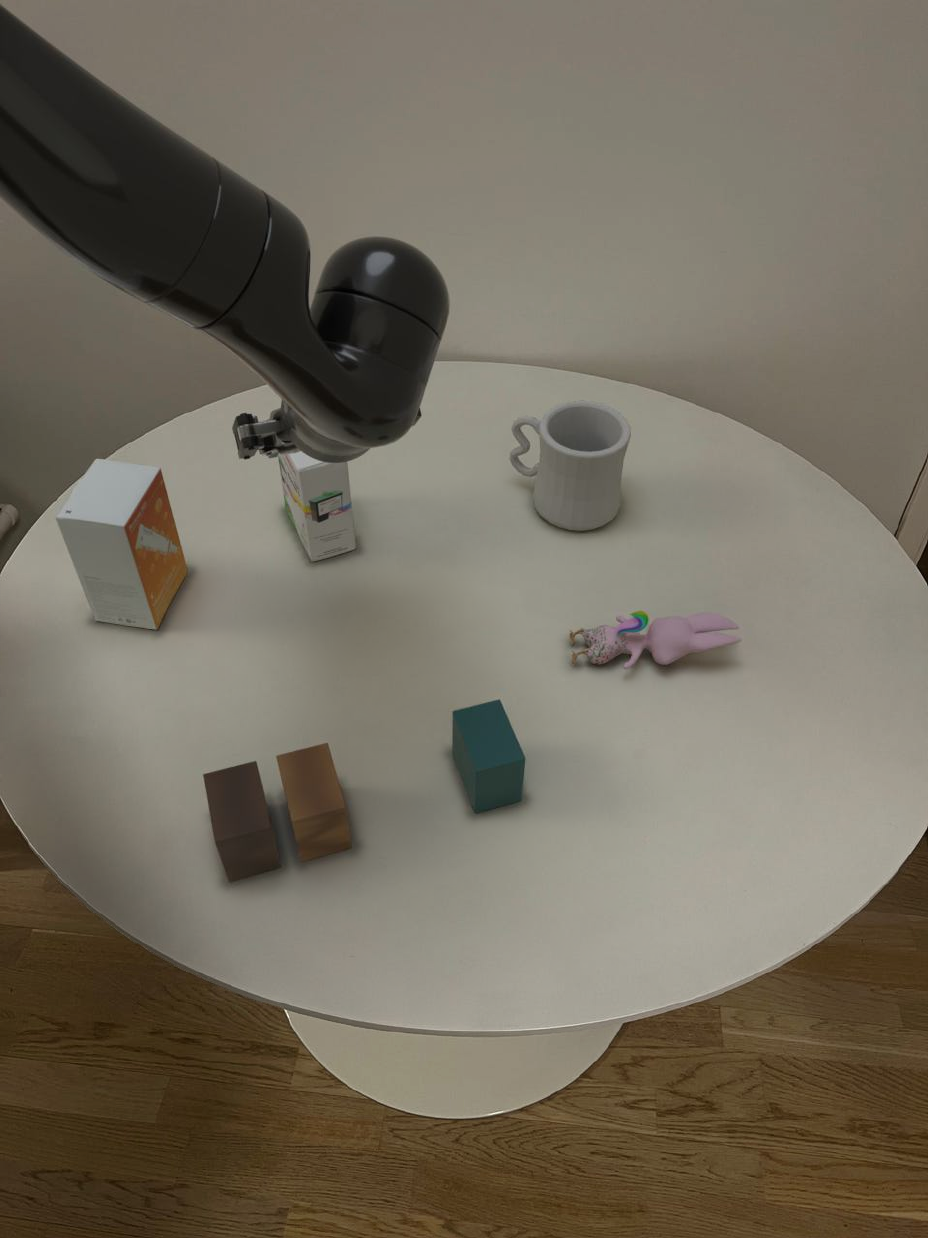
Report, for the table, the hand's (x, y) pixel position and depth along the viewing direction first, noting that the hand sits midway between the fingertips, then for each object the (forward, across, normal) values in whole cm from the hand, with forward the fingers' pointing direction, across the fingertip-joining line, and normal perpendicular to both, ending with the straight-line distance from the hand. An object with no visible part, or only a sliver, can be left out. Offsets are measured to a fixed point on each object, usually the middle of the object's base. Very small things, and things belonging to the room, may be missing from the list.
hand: (319, 435), depth 85 cm
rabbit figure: (-1, -25, +25) cm, 35 cm away
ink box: (+17, 0, +7) cm, 18 cm away
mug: (+15, -25, +9) cm, 30 cm away
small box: (+14, +18, +10) cm, 25 cm away
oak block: (-7, +8, +30) cm, 32 cm away
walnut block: (-7, +13, +30) cm, 34 cm away
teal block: (-7, -6, +30) cm, 32 cm away
